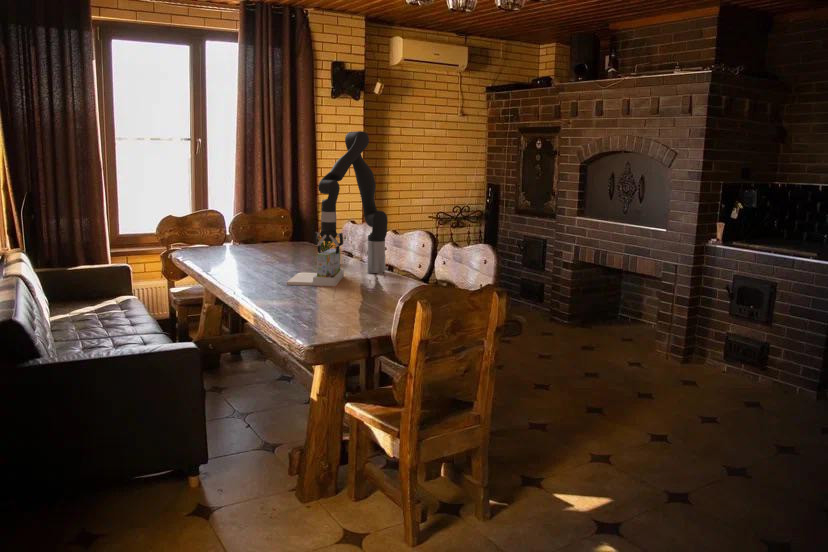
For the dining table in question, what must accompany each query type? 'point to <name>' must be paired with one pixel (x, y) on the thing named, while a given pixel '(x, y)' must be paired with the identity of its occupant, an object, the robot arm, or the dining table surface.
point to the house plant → (325, 245)
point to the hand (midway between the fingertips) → (328, 253)
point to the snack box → (328, 263)
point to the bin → (328, 279)
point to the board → (302, 279)
